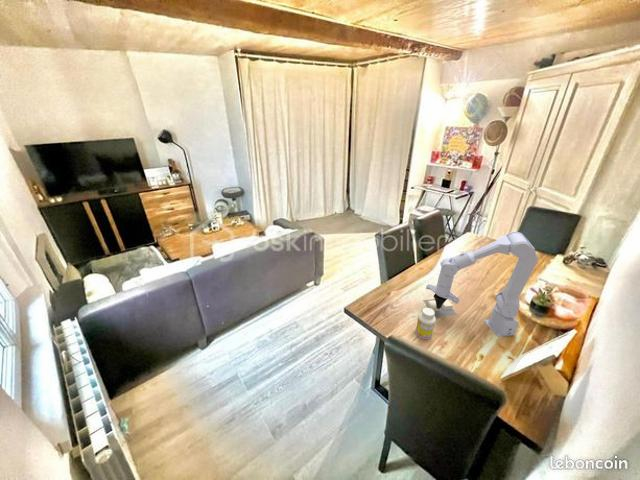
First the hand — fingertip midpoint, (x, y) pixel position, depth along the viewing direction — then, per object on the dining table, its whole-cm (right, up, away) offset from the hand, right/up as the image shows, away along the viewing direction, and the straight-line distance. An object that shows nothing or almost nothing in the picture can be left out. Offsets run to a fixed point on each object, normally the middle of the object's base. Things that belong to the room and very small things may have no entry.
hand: (438, 307), depth 115 cm
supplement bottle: (-11, -9, -9) cm, 17 cm away
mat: (+3, -1, +5) cm, 6 cm away
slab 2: (+6, -1, +2) cm, 6 cm away
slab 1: (0, -1, +2) cm, 2 cm away
